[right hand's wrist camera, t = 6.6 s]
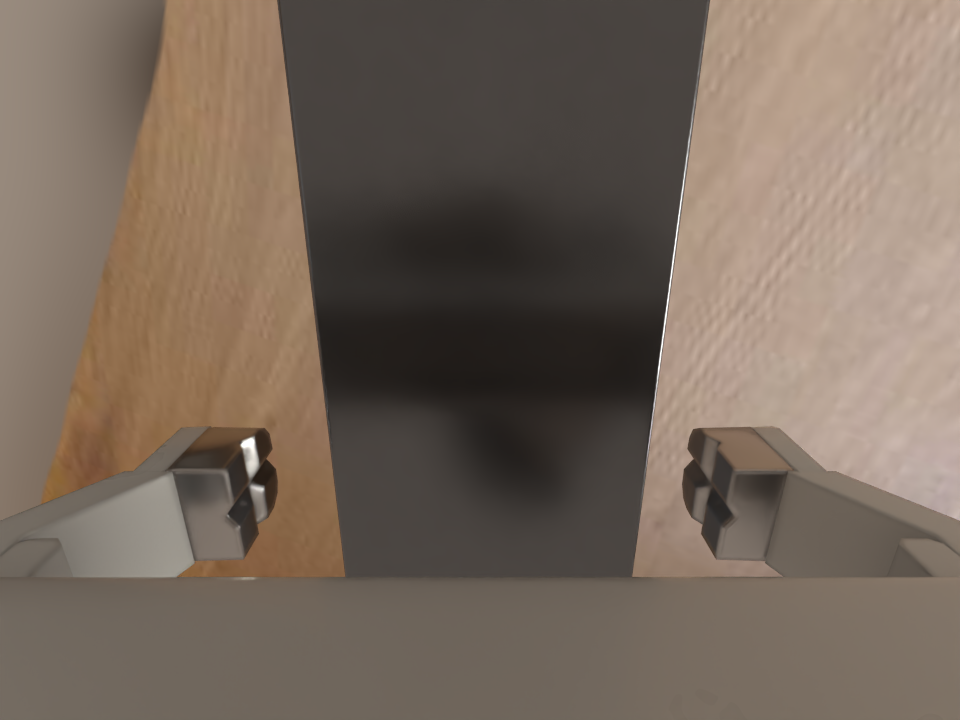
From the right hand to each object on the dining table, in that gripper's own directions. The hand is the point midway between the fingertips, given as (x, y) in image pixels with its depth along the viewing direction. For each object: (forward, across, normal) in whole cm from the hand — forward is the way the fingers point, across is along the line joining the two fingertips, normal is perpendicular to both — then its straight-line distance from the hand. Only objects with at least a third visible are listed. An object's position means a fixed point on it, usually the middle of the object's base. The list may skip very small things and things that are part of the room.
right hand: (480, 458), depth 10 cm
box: (+10, 0, -10) cm, 14 cm away
